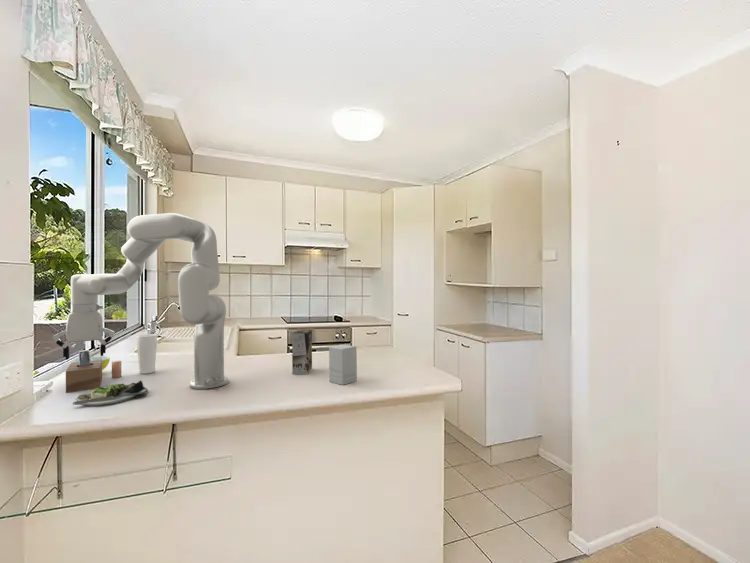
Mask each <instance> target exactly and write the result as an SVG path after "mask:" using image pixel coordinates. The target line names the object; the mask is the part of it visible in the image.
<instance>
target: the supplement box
mask: <svg viewBox="0 0 750 563" xmlns="http://www.w3.org/2000/svg"><path fill="white" fill-rule="evenodd" d="M357 358H358V357H357V346H355V345H349V344H339V345H333V346H329V347H328V359H329V360H328V366H329V367H328V368H329V370H328V371H329V373H328V374H329V376H328V377H329V382H331V383H334V384H338V385H341V386H342V385H343V386H344V385H347V384H351V383H355V382H357V381H358V372H357V371H358V366H357V363H358V362H357V360H358V359H357Z"/></svg>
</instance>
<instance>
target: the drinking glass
mask: <svg viewBox="0 0 750 563" xmlns="http://www.w3.org/2000/svg"><path fill="white" fill-rule="evenodd" d="M136 346H137V347H136V348H137V357H138V366H139V368H138V369H139V374H142V375H146V374H147V375H148V374H152V373H154V372H155V371H156V361H157V360H156V359H157V358H156V357H157V349H158V348H157V347H158V336H157V334H156V333H146V334H145V333H144V334H139V335H137V338H136Z"/></svg>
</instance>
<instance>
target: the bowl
mask: <svg viewBox="0 0 750 563" xmlns="http://www.w3.org/2000/svg"><path fill="white" fill-rule="evenodd" d="M101 359H102V371H103V370H105V369H106V368H107V367H108V365H109V363H110V359H111V358H110V356H90V361H92V360H101ZM73 362H79V358H78V359H74V360H73V361H72V363H73Z"/></svg>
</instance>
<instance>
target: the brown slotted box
mask: <svg viewBox="0 0 750 563" xmlns="http://www.w3.org/2000/svg"><path fill="white" fill-rule="evenodd" d="M102 381H103V370H102V359H101V360H92V361H90V366H82V367H79V362H73V361H72V362H70V364H69V365H68V367H67V369H66V370H65V393H72V392H79V391H80V392H81V391H88V390H94V389H96V388H101V384H102Z"/></svg>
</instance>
